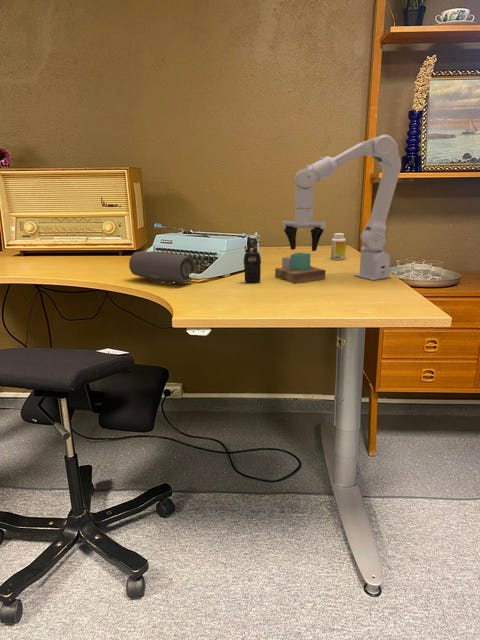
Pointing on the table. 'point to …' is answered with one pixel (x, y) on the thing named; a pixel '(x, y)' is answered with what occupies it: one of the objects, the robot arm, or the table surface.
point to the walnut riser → (300, 274)
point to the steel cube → (286, 262)
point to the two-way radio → (252, 264)
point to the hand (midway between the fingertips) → (303, 250)
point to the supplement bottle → (338, 247)
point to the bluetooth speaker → (162, 266)
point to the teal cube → (300, 261)
